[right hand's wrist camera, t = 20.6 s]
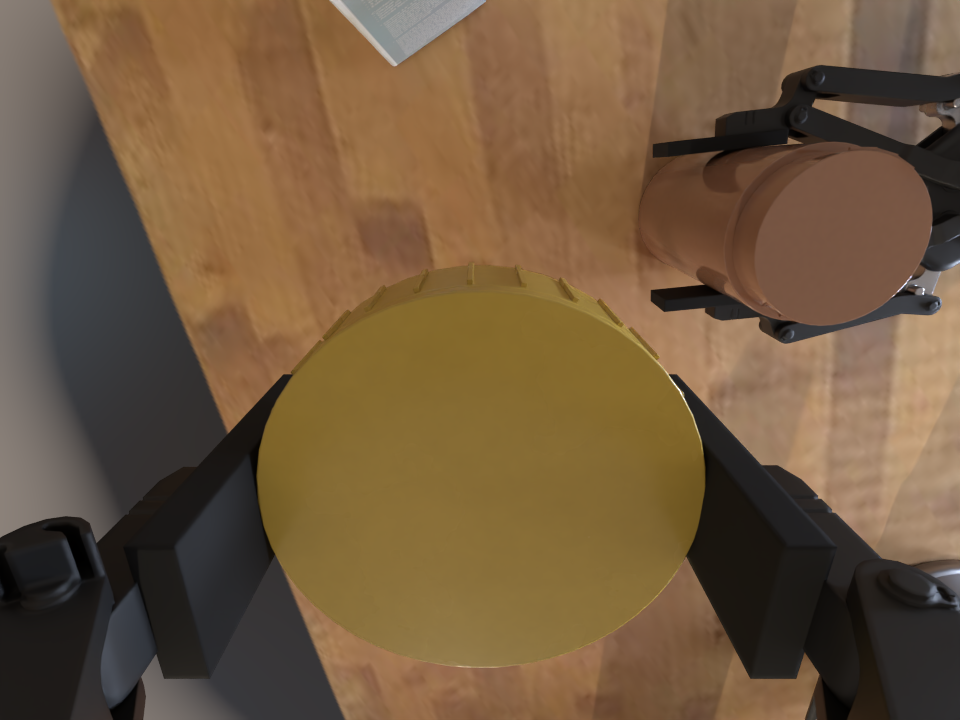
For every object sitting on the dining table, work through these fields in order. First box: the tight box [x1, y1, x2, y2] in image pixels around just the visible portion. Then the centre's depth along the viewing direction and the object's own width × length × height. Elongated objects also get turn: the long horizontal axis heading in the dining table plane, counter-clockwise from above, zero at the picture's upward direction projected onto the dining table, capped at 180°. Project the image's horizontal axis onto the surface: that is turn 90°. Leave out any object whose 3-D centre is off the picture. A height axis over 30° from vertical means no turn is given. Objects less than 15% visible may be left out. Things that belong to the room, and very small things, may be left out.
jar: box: [639, 142, 932, 326], centre depth 29 cm, size 8×8×16 cm
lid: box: [256, 262, 705, 668], centre depth 11 cm, size 9×9×2 cm
